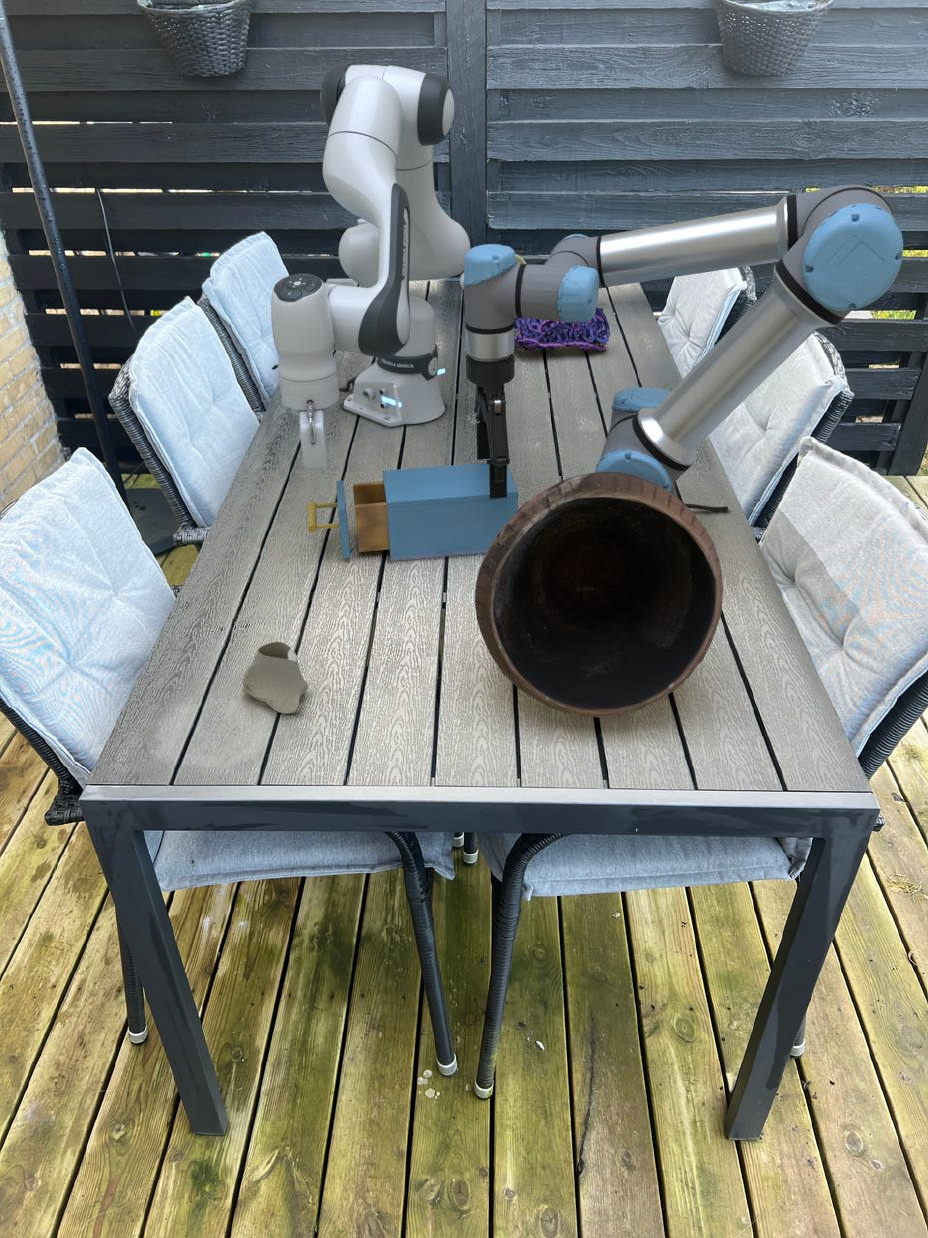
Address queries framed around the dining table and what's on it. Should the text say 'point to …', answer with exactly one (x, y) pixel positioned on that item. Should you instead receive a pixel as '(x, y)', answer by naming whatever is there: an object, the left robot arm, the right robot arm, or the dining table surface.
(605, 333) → the purple fibrous block
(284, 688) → the grey flared pouch
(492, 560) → the pot
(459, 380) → the dining table surface
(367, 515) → the drawer
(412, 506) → the blue open box
